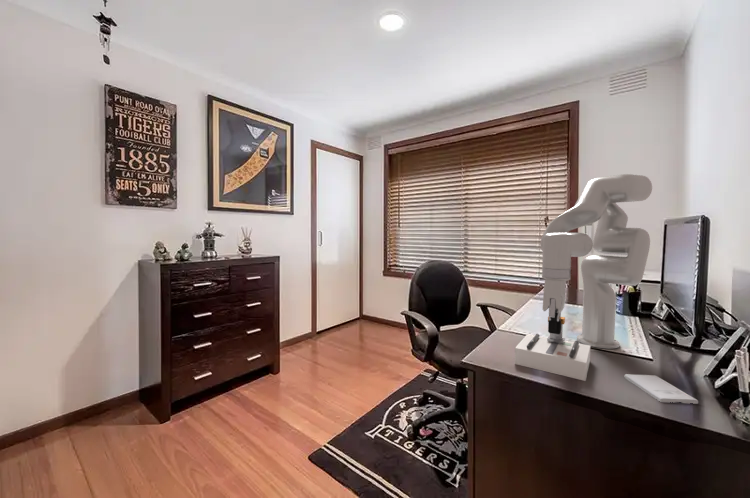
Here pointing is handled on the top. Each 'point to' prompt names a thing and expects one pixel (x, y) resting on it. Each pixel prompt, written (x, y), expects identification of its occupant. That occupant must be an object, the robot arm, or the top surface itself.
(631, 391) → the top surface
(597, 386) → the top surface
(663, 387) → the external hard drive
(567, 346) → the switch box
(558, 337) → the switch handle
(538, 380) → the top surface
